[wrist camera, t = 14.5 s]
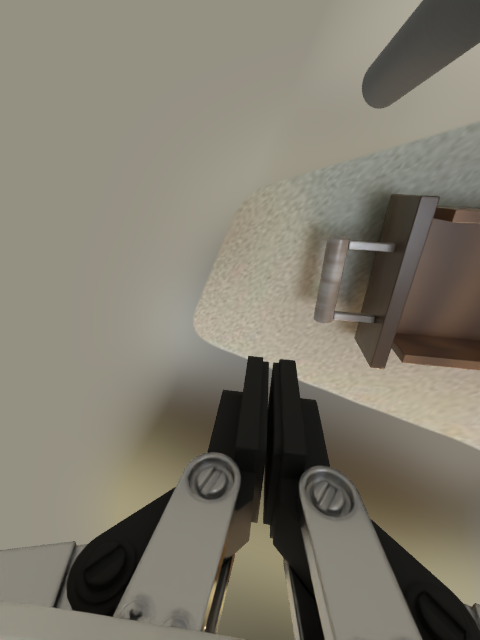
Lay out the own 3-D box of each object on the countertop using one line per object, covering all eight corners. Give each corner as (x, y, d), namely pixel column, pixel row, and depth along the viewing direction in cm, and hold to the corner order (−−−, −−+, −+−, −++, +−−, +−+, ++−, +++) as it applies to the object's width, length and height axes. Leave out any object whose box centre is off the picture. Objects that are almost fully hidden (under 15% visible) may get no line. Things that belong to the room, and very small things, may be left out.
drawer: (304, 333, 29) (310, 361, 24) (328, 190, 23) (342, 191, 19) (549, 356, 27) (608, 392, 23) (640, 207, 22) (744, 213, 17)
